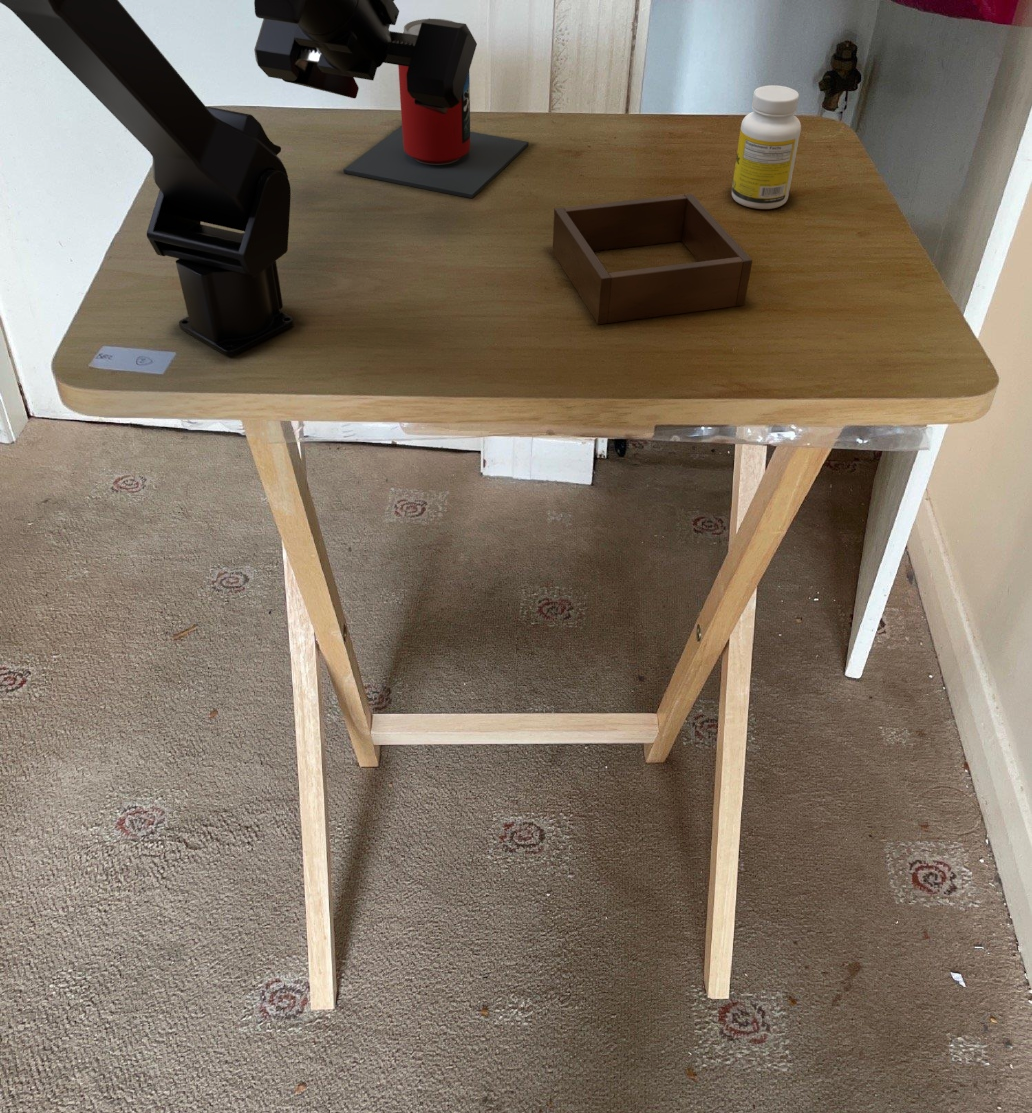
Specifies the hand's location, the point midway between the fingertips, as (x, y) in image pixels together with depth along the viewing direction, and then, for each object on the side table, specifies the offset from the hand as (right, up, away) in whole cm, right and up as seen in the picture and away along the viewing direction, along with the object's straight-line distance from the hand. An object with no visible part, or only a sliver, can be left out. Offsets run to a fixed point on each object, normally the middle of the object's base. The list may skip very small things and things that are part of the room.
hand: (400, 100), depth 95 cm
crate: (+21, -18, -7) cm, 29 cm away
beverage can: (+3, -1, +10) cm, 11 cm away
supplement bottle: (+34, -7, +5) cm, 35 cm away
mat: (+3, -1, +10) cm, 11 cm away
